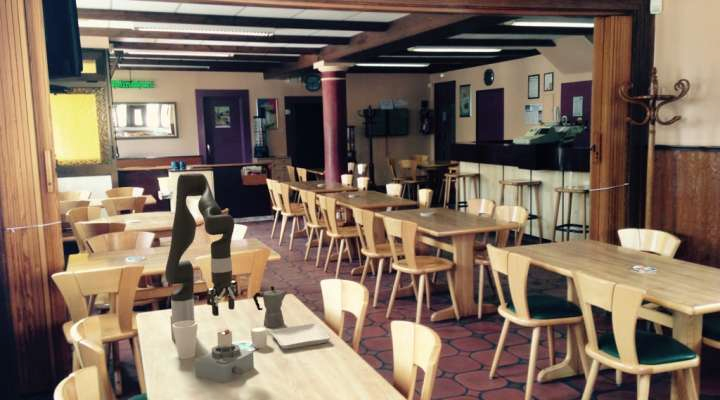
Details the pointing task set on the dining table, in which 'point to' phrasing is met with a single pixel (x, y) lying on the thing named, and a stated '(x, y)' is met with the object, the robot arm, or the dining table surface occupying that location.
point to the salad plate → (300, 336)
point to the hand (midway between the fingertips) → (223, 312)
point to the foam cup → (185, 338)
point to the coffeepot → (271, 307)
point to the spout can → (224, 341)
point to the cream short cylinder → (259, 337)
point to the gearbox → (224, 364)
